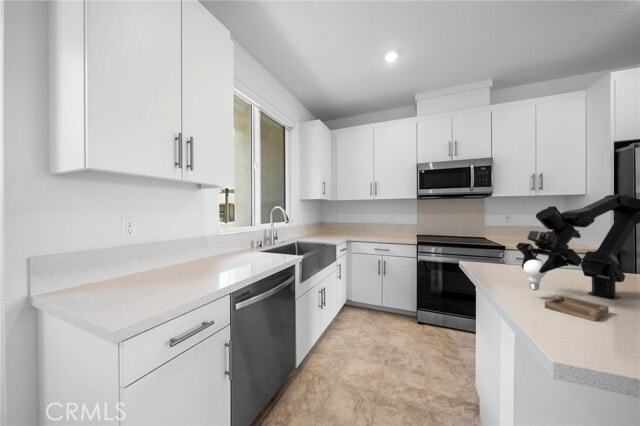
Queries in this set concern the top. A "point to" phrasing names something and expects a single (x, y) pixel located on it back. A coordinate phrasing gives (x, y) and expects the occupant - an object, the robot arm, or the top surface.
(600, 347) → the top surface
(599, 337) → the top surface
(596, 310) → the walnut tray
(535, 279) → the lightbulb
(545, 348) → the top surface
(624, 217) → the robot arm
